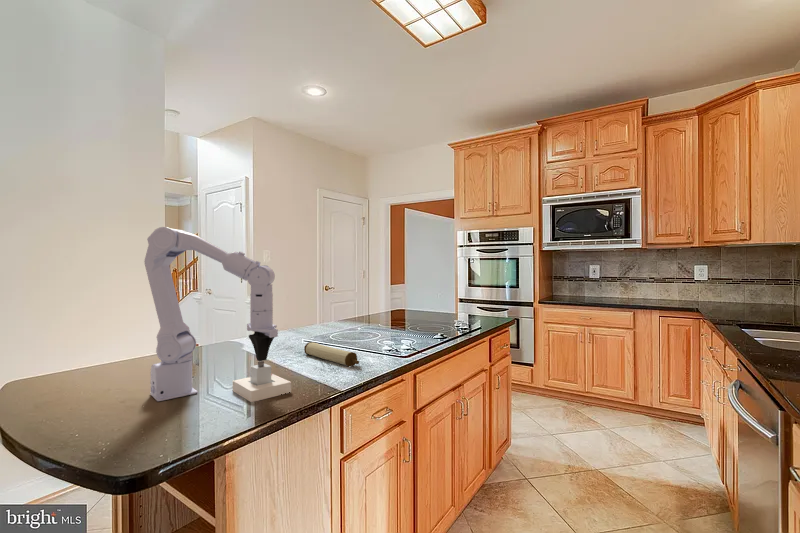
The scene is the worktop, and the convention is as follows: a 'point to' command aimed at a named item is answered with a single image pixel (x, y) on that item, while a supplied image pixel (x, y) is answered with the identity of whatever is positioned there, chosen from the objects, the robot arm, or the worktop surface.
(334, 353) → the rolling pin
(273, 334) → the robot arm
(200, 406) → the worktop surface
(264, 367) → the plug
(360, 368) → the worktop surface
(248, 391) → the socket box
